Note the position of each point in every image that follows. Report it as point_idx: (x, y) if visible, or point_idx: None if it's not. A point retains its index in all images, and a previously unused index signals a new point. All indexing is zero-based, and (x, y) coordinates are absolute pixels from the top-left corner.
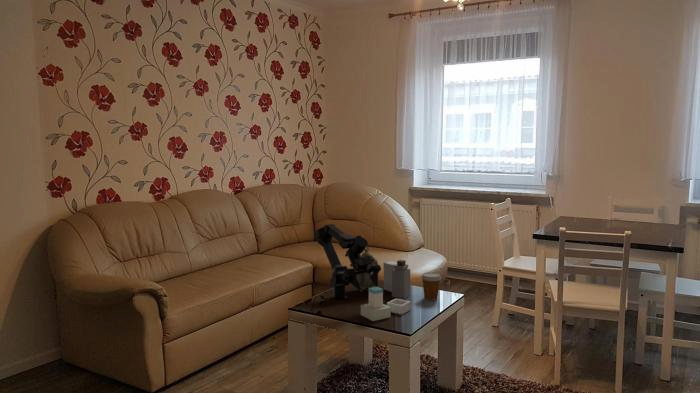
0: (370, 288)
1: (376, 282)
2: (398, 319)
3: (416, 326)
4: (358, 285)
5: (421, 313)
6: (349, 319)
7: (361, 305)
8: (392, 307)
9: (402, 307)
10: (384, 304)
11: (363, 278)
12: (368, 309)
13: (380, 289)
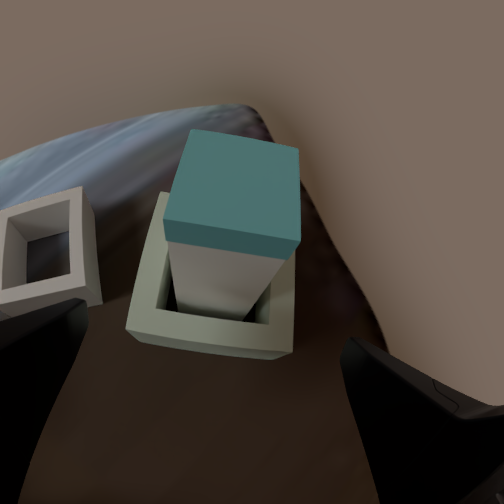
0: (288, 217)
1: (55, 313)
2: (161, 185)
3: (176, 114)
4: (392, 356)
5: (38, 179)
6: (360, 334)
7: (292, 343)
8: (89, 255)
9: (83, 192)
10: (143, 251)
11: None
12: (293, 258)
13: (220, 135)
